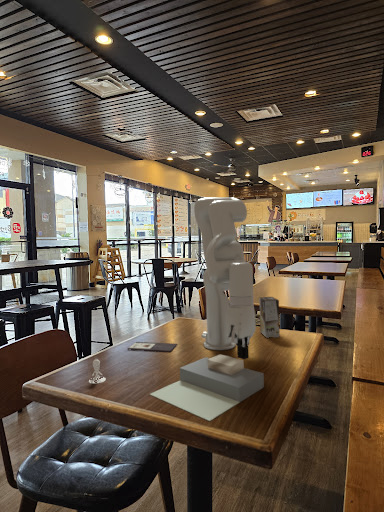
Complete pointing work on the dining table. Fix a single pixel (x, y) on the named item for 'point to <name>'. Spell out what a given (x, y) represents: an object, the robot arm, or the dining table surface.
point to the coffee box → (269, 316)
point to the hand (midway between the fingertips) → (243, 357)
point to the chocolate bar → (153, 346)
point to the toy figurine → (95, 364)
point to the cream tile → (225, 364)
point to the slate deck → (222, 380)
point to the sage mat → (195, 399)
